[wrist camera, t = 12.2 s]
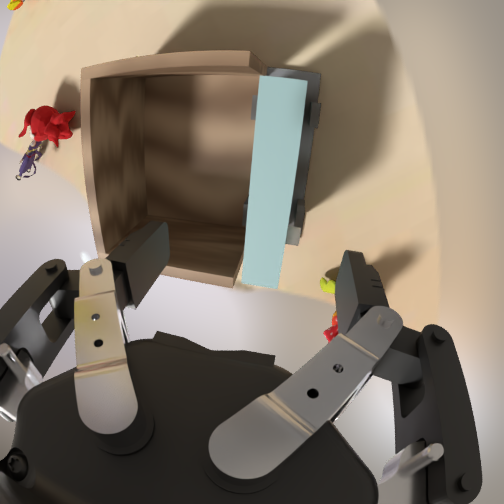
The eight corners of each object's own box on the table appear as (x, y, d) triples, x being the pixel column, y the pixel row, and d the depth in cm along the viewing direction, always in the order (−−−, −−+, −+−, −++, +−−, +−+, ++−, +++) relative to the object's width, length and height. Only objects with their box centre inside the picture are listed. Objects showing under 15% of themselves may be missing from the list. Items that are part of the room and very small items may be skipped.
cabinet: (142, 70, 27) (81, 68, 17) (321, 74, 25) (332, 60, 15) (145, 218, 37) (99, 261, 28) (297, 240, 35) (293, 298, 26)
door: (276, 85, 26) (259, 75, 15) (316, 91, 25) (326, 84, 15) (261, 222, 34) (241, 282, 24) (296, 228, 33) (291, 291, 23)
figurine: (22, 156, 34) (56, 84, 28) (52, 183, 38) (91, 114, 32) (0, 173, 29) (29, 93, 23) (32, 202, 33) (67, 126, 27)
